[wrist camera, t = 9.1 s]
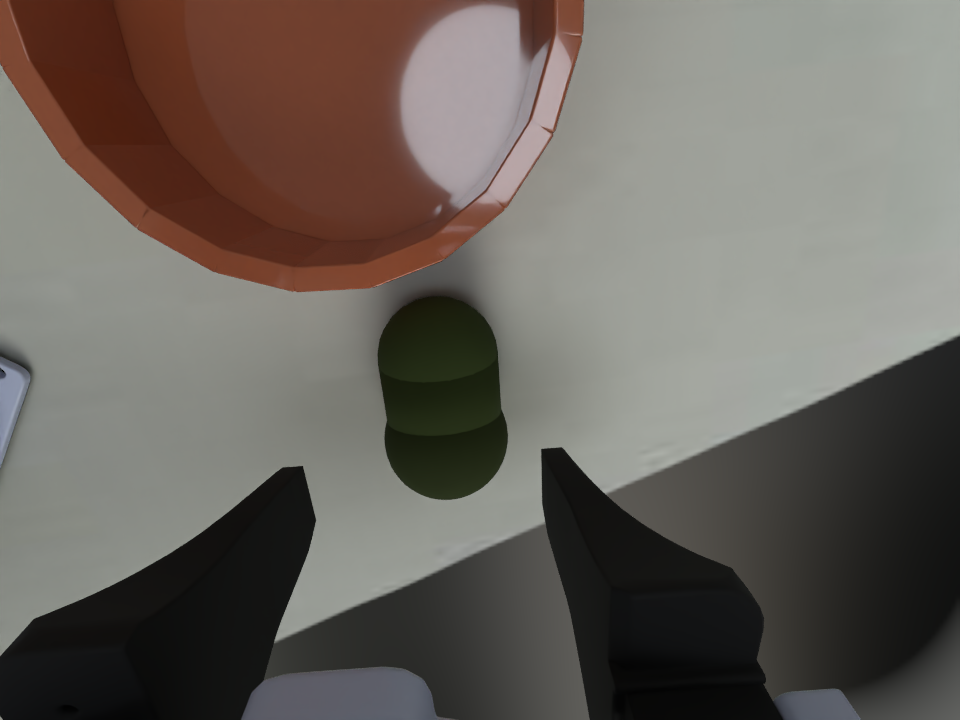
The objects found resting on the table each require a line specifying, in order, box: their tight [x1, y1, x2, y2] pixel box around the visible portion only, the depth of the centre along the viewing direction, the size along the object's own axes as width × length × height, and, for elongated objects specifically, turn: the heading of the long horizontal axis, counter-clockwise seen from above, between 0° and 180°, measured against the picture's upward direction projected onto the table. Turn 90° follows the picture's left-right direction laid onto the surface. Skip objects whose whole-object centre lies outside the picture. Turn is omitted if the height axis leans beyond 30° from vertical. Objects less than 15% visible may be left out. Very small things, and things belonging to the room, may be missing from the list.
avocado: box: [378, 296, 508, 500], centre depth 20 cm, size 8×5×5 cm, turn 4°
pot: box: [0, 0, 584, 292], centre depth 15 cm, size 15×15×5 cm
